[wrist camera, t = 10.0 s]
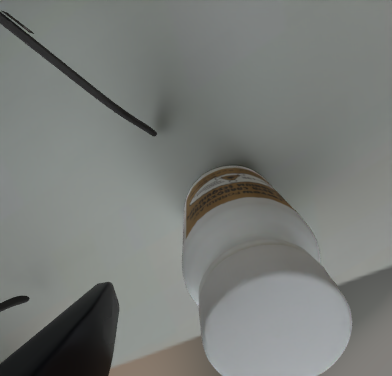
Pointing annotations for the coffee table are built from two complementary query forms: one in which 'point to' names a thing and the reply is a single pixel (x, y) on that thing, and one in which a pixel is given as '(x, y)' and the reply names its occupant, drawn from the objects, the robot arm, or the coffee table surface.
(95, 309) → the robot arm
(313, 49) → the coffee table surface
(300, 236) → the pill bottle
